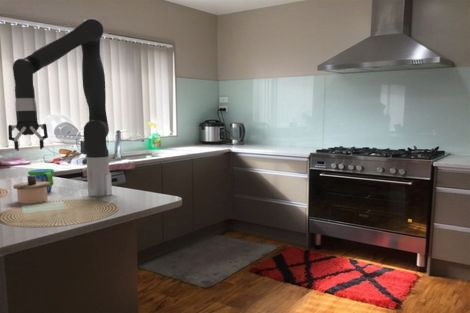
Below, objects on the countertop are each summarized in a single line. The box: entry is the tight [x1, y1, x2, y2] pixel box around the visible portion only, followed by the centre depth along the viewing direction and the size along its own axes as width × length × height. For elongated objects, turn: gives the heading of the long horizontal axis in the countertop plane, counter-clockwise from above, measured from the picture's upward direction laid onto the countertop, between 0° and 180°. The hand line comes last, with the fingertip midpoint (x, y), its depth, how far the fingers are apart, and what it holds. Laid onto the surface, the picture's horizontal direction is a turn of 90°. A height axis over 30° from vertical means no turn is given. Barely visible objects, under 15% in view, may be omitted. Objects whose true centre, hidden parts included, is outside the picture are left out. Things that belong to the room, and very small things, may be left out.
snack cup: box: [27, 168, 55, 193], centre depth 192 cm, size 16×10×10 cm
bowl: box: [16, 187, 49, 205], centre depth 171 cm, size 11×11×6 cm
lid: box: [13, 175, 50, 190], centre depth 171 cm, size 14×14×4 cm
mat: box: [21, 200, 68, 215], centre depth 159 cm, size 15×15×1 cm
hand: (29, 149), depth 169 cm, fingers open, 8 cm apart
